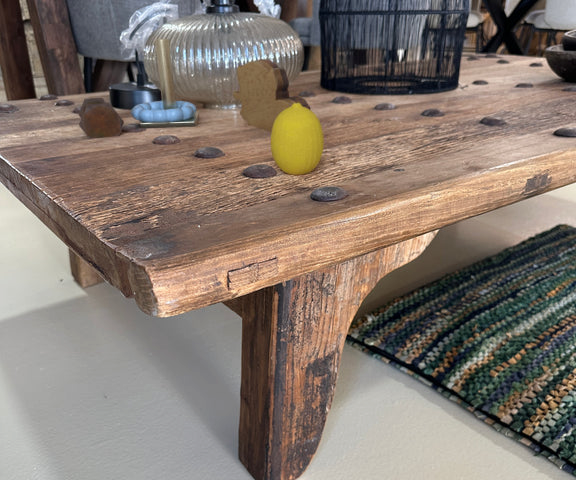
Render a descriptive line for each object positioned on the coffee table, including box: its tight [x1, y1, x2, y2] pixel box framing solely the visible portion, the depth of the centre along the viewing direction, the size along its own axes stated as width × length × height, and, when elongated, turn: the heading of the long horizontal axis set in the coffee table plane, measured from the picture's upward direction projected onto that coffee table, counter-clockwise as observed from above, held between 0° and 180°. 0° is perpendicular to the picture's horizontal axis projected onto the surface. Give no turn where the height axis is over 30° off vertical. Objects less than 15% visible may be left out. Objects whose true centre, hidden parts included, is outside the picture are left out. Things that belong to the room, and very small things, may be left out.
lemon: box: [270, 103, 325, 176], centre depth 59 cm, size 6×6×8 cm
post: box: [139, 38, 200, 129], centre depth 85 cm, size 8×8×12 cm
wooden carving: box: [232, 58, 312, 133], centre depth 78 cm, size 16×5×10 cm, turn 39°
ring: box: [130, 100, 197, 123], centre depth 87 cm, size 10×10×2 cm
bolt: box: [78, 97, 125, 140], centre depth 83 cm, size 6×5×15 cm
